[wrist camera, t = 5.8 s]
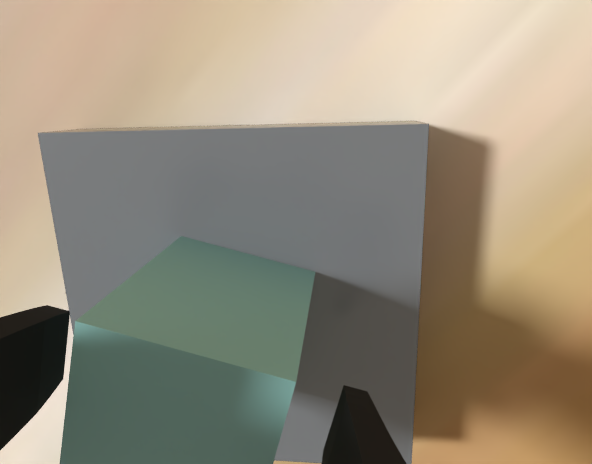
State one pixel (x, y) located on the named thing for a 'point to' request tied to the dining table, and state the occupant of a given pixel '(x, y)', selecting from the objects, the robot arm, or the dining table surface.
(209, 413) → the teal block
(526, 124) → the dining table surface
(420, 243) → the slate base
